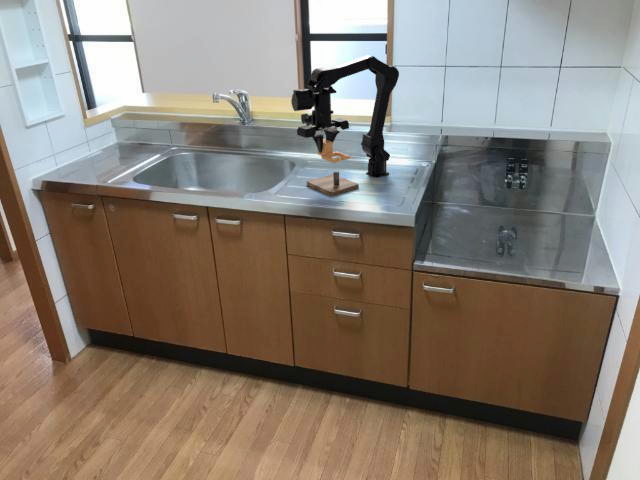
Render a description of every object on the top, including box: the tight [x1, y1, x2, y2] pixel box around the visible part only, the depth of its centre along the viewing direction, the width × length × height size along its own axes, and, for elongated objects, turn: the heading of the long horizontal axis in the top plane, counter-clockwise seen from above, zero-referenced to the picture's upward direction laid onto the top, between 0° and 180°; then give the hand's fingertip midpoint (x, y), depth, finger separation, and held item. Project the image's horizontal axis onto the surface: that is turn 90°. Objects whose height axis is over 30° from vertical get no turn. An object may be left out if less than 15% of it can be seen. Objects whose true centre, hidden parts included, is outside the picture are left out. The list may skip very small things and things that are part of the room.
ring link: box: [317, 138, 351, 164], centre depth 179 cm, size 12×7×5 cm, turn 36°
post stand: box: [306, 171, 360, 197], centre depth 184 cm, size 15×12×6 cm
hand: (324, 151), depth 183 cm, fingers closed on ring link, 3 cm apart
